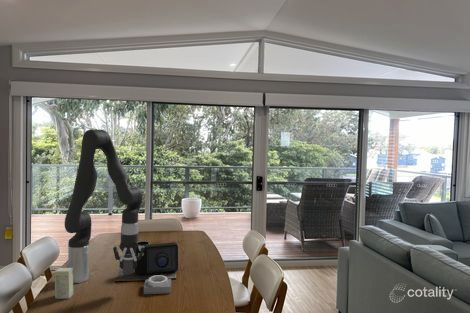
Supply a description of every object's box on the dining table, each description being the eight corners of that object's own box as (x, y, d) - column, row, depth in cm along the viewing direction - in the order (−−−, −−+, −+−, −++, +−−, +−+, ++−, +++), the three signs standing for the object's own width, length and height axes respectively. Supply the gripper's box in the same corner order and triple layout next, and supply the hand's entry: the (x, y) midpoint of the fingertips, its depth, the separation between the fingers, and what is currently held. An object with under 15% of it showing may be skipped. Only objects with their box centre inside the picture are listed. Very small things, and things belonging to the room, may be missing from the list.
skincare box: (73, 294, 154) (73, 267, 154) (69, 299, 150) (69, 271, 149) (58, 294, 154) (59, 267, 153) (54, 298, 150) (54, 271, 149)
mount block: (143, 294, 157) (143, 283, 157) (145, 285, 166) (145, 275, 165) (170, 293, 159) (170, 282, 158) (171, 284, 168) (171, 274, 167)
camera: (133, 279, 173) (134, 249, 172) (133, 271, 182) (134, 243, 181) (179, 275, 179) (179, 247, 178) (177, 268, 188) (177, 241, 187)
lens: (121, 274, 155) (122, 257, 155) (123, 270, 160) (123, 253, 159) (132, 274, 156) (133, 257, 155) (134, 270, 161) (135, 253, 160)
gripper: (111, 234, 152) (110, 271, 153) (145, 234, 154) (143, 271, 155) (114, 229, 159) (113, 265, 160) (146, 229, 161) (145, 265, 163)
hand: (128, 268), depth 158 cm, fingers closed on lens, 4 cm apart
